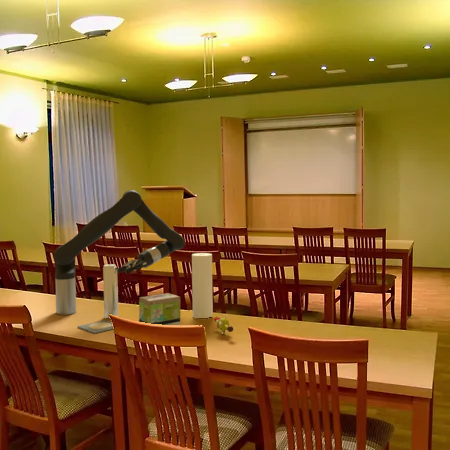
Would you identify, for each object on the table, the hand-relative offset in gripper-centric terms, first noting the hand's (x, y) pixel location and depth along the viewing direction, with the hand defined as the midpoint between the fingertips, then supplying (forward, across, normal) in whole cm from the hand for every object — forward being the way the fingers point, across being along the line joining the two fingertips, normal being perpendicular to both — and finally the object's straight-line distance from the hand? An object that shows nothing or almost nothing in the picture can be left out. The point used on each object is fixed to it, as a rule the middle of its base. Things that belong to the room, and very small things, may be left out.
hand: (121, 271), depth 241 cm
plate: (+23, +10, +15) cm, 30 cm away
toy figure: (-9, +52, +31) cm, 61 cm away
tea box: (+7, +30, +24) cm, 39 cm away
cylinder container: (-19, +23, +32) cm, 44 cm away
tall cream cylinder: (+12, -3, +18) cm, 22 cm away
